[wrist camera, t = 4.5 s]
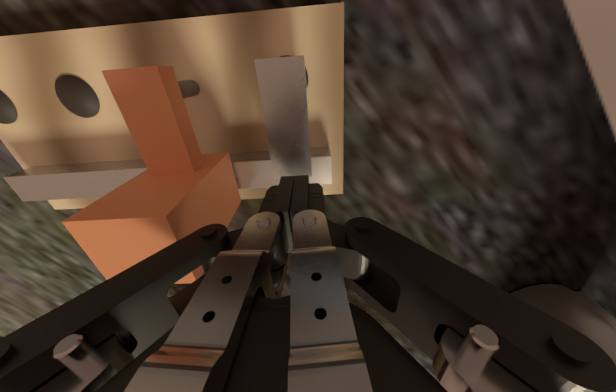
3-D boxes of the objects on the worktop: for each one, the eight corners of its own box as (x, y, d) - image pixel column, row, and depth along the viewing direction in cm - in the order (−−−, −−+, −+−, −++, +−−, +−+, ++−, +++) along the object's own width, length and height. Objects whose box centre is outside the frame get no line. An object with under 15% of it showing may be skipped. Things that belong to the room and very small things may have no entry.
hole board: (341, 7, 13) (344, 1, 12) (341, 186, 19) (343, 194, 18) (-46, 45, 14) (-76, 43, 13) (67, 202, 20) (53, 210, 19)
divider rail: (327, 55, 13) (330, 52, 11) (330, 171, 17) (333, 192, 14) (-25, 86, 15) (-105, 91, 12) (50, 188, 18) (3, 210, 16)
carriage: (218, 64, 13) (91, 62, 6) (247, 188, 18) (197, 283, 10) (154, 70, 14) (-53, 75, 6) (198, 191, 18) (111, 286, 10)
